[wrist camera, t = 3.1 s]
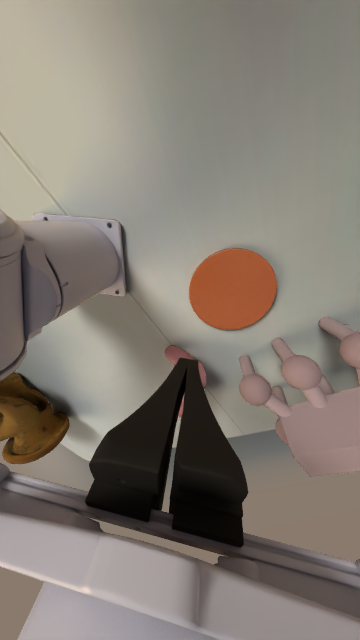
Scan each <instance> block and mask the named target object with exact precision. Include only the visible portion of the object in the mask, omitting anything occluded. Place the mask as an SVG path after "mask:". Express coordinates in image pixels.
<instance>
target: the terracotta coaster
mask: <svg viewBox="0 0 360 640" xmlns="http://www.w3.org/2000/svg"><path fill="white" fill-rule="evenodd" d="M276 291H277V281H276V276H275V273H274V271H273V269H272V267H271V265H270V264H269V263H268V262H267V261H266V260H265V259H264V258H263V257H262V256H260V255H259V254H257V253H255V252H253V251H250V250H247V249H241V248H231V249H225V250H221V251H219V252H216V253H214V254H212V255H210V256H209V257H208V258H206V259H205V260H204V261H203V262H202V263H201V264H200V265H199V266H198V267H197V269H196V271H195V272H194V274H193V276H192V279H191V282H190V286H189V299H190V303H191V306H192V308H193V310H194V312H195V313H196V314H197V316H198V317H199V318H200V319H201V320H202V321H204V322H205V323H207V324H208V325H210V326H213V327H215V328H219V329H226V330H233V329H240V328H244V327H246V326H249V325H251V324H253V323H255V322H256V321H258V320H259V319H260V318H262V317H263V316H264V315H265V314H266V313H267V311H268V310H269V309H270V307H271V306H272V304H273V301H274V299H275V296H276Z"/></svg>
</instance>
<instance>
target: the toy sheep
mask: <svg viewBox="0 0 360 640" xmlns="http://www.w3.org/2000/svg"><path fill="white" fill-rule="evenodd" d="M319 326H320V327H321V328H322V329H324V330H325V331H327V332H328V333H330V334H331V335H333V336H334V337H335V338H337V339H338V340H340V341H341V343H340V346H339V352H340V355H341V357H342V358H343V359H344V361H346V362H347V363H348V364H349V365H351V366H353V367H355V368H356V371H357V376H358V381H359V386H358V387H355V388H351V389H348V390H344V391H341V392H337V393H335V392H334V390H333V389H332V387H331V385H330V384H329V382H328V380H327V379H326V377H325V376H324V375H322V373H321V370H320V367H319V366H318V365H317V363H316V362H315V361H313V360H312V359H310V358H308V357H306V356H301V355H295V354H294V353H293V352H292V351H291V349H290V348H289V347H288V346H287V344H286V343H285V342H284V341H283V340H282V339H280V338H277V339H275V340H273V342H272V346H273V347H274V349H275V351H276V352H277V354H278V355H279V357H280V358H281V360H282V361H283V364H282V368H281V372H282V376H283V378H284V379H285V381H286V382H287V383H288V384H290V385H291V386H293V387H295V388H297V389H301V390H302V392H303V393H304V395H305V396H306V398H307V400H308V401H305V402H302V403H298V404H294V405H291V406H288V405H287V402H286V399H285V396H284V393H283V390H282V388H281V387H273V388H272V394H273V395H272V394H271V387H270V385H269V383H268V382H267V380H266V379H265V378H263V377H262V376H260V375H257V374H255V371H254V369H253V366H252V363H251V360H250V357H249V356H248V355H242V356H240V358H239V361H240V365H241V369H242V373H243V377H244V378H243V379H242V380H241V382H240V385H239V390H240V393H241V396H242V397H243V399H244V400H245V401H246V402H248V403H249V404H251V405H255V406H261V405H264V406H266V407H267V408H268V409H270V410H271V411H273V412H274V413H275V414H277V415H278V417H279V418H278V420H277V421H276V431H277V434H278V436H279V437H280V439H282V441H283V442H284V443H286V444H287V445H289V446H290V449H291V452H292V455H293V457H294V458H295V459H296V460H297V462H298V463H299V464H300V465H301V466H302V467H303V469H304V470H305V471H306V472H307V474H308V475H309V476H310V477H312V476H321V475H330V474H340V473H349V472H358V471H360V332H356V331H354V330H352V329H350V328H349V327H347V326H345V324H341V323H340V322H338V321H336V320H334V319H332V318H331V317H324V318H322V319H321V320H320V322H319Z"/></svg>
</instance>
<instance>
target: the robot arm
mask: <svg viewBox="0 0 360 640" xmlns="http://www.w3.org/2000/svg"><path fill="white" fill-rule="evenodd" d="M33 219H34V221H23V220H13V219H11V218H10V217H8V216H7V215H6V214H5V213H4V212H3V211H2V210H1V209H0V381H1V380H3V379H4V378H6V377H7V376H9V375H10V374H11V373H12V372H13V371H15V370H16V369H17V368H18V366H19V365H20V364H21V363H22V361H23V360H24V358H25V356H26V352H27V341H28V340H29V339H31V338H33V337H34V336H36V335H37V334H39V333H41V330H42V327H43V326H45V325H47V324H48V323H50V322H52V321H53V320H55V319H57V318H58V317H60V316H62V315H63V314H65V313H67V312H68V311H70V310H72V309H73V308H75V307H77V306H78V305H80V304H82V303H83V302H85V301H86V300H88V299H90V298H91V297H93V296H95V295H96V294H98V293H100V294H107V295H114V296H125V295H126V282H125V270H124V259H123V247H122V236H121V226H120V223H119V222H118V221H117V220H110V219H98V218H87V217H75V216H63V215H51V214H39V213H35V214H33ZM47 219H48V221H47ZM109 223H111V224H112V227H111V228H110V227H109ZM117 290H118V291H119V293H118V292H117ZM183 396H184V405H183V413H182V419H181V425H180V431H179V436H178V442H177V448H176V453H175V461H174V472H173V481H172V488H171V494H170V506H169V513H167V512H163V511H161V510H162V504H163V498H164V492H165V486H166V480H167V474H168V468H169V462H170V456H171V450H172V444H173V438H174V433H175V427H176V423H177V419H178V415H179V411H180V407H181V403H182V399H183ZM89 467H90V470H91V473H92V475H93V477H94V479H95V480H94V482H93V484H92V486H91V488H90V490H89V492H87V491H83V490H79V489H76V488H72V487H68V486H64V485H61V484H57V483H53V482H49V481H45V480H42V479H38V478H34V477H30V476H26V475H23V474H19V473H15V472H11V471H10V470H9V468H8V467H7V466H6V465H4V464H2V463H0V566H1V567H3V568H6V569H9V570H12V571H15V572H18V573H21V574H24V575H27V576H30V577H33V578H36V579H39V580H41V581H44V584H43V586H42V589H41V591H40V593H39V595H38V597H37V599H36V601H35V604H34V606H33V608H32V610H31V612H30V614H29V616H28V618H27V621H26V623H25V625H24V627H23V629H22V631H21V633H20V636H19V637H18V640H360V559H358V560H356V562H353V561H349V560H345V559H342V558H338V557H334V556H330V555H326V554H322V553H319V552H315V551H311V550H307V549H304V548H300V547H296V546H292V545H288V544H284V543H281V542H277V541H273V540H270V539H266V538H262V537H258V536H254V535H250V534H246V533H243V528H242V517H243V510H242V502H243V501H244V499H245V498H246V496H247V494H248V488H247V482H246V478H245V474H244V471H243V468H242V465H241V462H240V460H239V458H238V457H237V455H236V453H235V452H234V450H233V449H232V447H231V445H230V444H229V442H228V440H227V439H226V437H225V435H224V434H223V432H222V430H221V428H220V426H219V424H218V422H217V420H216V418H215V416H214V414H213V412H212V410H211V407H210V405H209V402H208V400H207V397H206V394H205V391H204V388H203V385H202V381H201V377H200V373H199V366H198V361H197V360H193V359H187V358H179V359H178V361H177V363H176V365H175V367H174V368H173V370H172V371H171V373H170V374H169V376H168V377H167V378H166V380H165V381H164V382H163V384H162V385H161V386H160V387H159V388H158V390H157V391H156V392H155V393H154V394H153V395H152V396H151V397H150V398H149V399H148V400H147V401H146V402H145V403H144V404H143V405H142V406H141V407H140V408H139V409H137V410H136V411H135V412H134V413H133V414H131V415H130V416H129V417H128V418H127V419H125V420H124V421H123V422H121V423H120V424H118V425H117V426H116V427H114V428H113V429H111V430H110V431H109V432H108V433H107V434H106V435H105V437H104V438H103V440H102V441H101V443H100V444H99V446H98V448H97V449H96V451H95V453H94V455H93V457H92V459H91V461H90V463H89ZM85 516H86V517H85ZM88 517H89V518H88ZM90 518H93V519H97V520H100V521H104V522H108V523H111V524H114V525H118V526H122V527H125V528H129V529H133V530H136V531H139V532H143V533H147V534H150V535H154V536H157V537H161V538H164V539H168V540H171V541H175V542H178V543H182V544H185V545H189V546H193V547H196V548H200V549H203V550H207V551H211V552H214V553H218V554H221V555H225V556H228V557H225V556H219V557H218V563H217V564H214V565H212V564H210V563H207V562H205V561H202V560H199V559H197V558H194V557H191V556H188V555H185V554H182V553H180V552H177V551H174V550H171V549H167V548H164V547H161V546H158V545H154V544H151V543H147V542H144V541H140V540H136V539H132V538H128V537H124V536H120V535H115V534H110V533H105V532H103V531H102V530H101V528H100V524H99V522H96V521H94V520H92V519H90Z"/></svg>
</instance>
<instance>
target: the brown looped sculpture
mask: <svg viewBox="0 0 360 640" xmlns="http://www.w3.org/2000/svg"><path fill="white" fill-rule="evenodd" d="M69 424H70V423H69V418H68V417H67V416H66V415H65V414H62V413H53V410H52V406H51V404H50V403H48V400H47V399H46V398H45V397H44V396H43V395H42V394H41V393H40V392H39V391H37V390H33V389H31V388H30V387H29V386H28V385H27V384H26V383H25V382H24V381H23V379H22V377H21V375H20V374H10V375H9V376H7V377H6V378H4V379H3V380H1V381H0V441H3V440H5V439H8V438H10V439H9V440H8V441H7V443H6V445H5V446H4V449H3V452H2V454H3V458H4V460H6V461H7V462H9V463H11V464H25V463H29V462H32V461H35V460H37V459H39V458H41V457H43V456H45V455H46V454H48V453H49V452H50V451H52V450H53V449H54V448H55V447H56V446H57V445H58V444H59V443H60V442H61V441H62V439H63V438H64V436H65V434H66V433H67V431H68V429H69Z"/></svg>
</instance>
